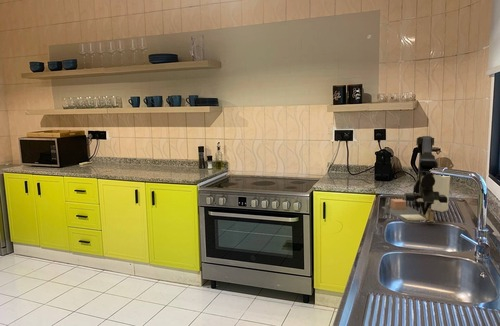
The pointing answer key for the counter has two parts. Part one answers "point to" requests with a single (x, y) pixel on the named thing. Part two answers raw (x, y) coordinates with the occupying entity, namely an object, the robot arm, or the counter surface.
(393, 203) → the block
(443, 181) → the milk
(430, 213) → the tan wooden bar
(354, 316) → the counter surface
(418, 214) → the grey panel
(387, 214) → the olive long rounded piece
